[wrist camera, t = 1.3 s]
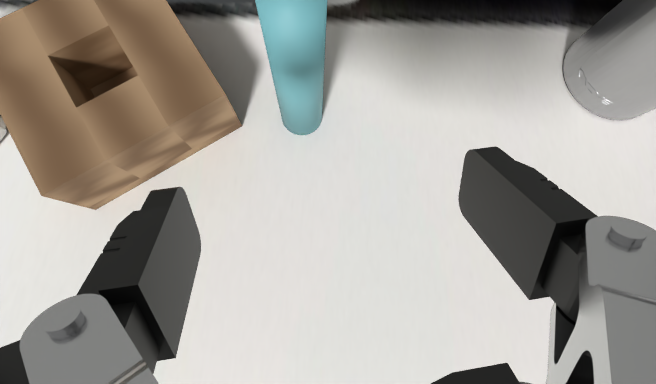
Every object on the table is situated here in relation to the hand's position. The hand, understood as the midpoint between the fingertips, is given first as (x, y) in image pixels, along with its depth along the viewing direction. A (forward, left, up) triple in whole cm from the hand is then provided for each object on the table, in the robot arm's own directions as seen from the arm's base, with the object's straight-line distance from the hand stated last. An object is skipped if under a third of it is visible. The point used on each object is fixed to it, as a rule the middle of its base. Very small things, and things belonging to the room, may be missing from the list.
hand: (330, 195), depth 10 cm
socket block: (+7, -19, -20) cm, 29 cm away
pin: (-5, -10, -20) cm, 23 cm away
